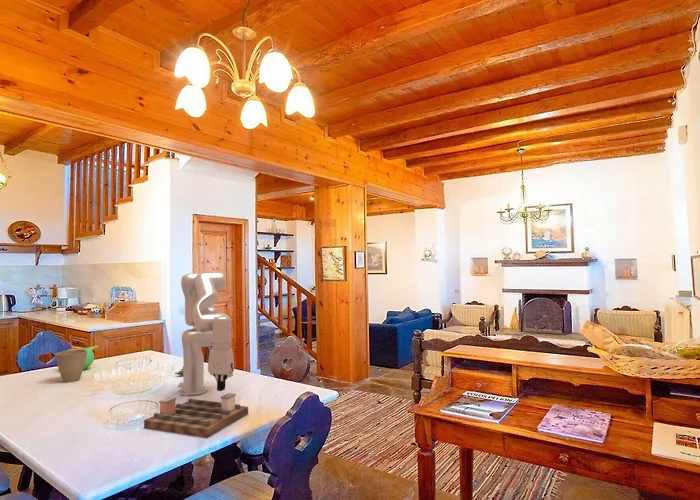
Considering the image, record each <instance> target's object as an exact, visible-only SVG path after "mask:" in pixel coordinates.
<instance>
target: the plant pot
mask: <svg viewBox="0 0 700 500" xmlns="http://www.w3.org/2000/svg"><path fill="white" fill-rule="evenodd" d="M68 350H69V349H68ZM86 356H87V350H69V351H67V350H63V351H59V352H56V353H55V360H56V365H57V369H58V372H59V374H60V377H61V379H62V382H63V383H73V382H77V381H79V380H80V379H81V378H82V374H83V371H84V370H85V369H84V365H85V361H86Z"/></svg>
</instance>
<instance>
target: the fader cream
mask: <svg viewBox="0 0 700 500" xmlns="http://www.w3.org/2000/svg"><path fill="white" fill-rule="evenodd" d="M220 400H221V401H220V402H221V409H225V410H230V411H231V410H233V409H235V404H236V393H233V392H228V393H225V394H224V395H221V396H220Z"/></svg>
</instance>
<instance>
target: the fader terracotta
mask: <svg viewBox="0 0 700 500" xmlns="http://www.w3.org/2000/svg"><path fill="white" fill-rule="evenodd" d="M176 400H177V397H174V396H169V397H166V398H163V399H161V400H159V401H158V402H159V413H160V414H167V415H172V414H174V413H175V407H176Z"/></svg>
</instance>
